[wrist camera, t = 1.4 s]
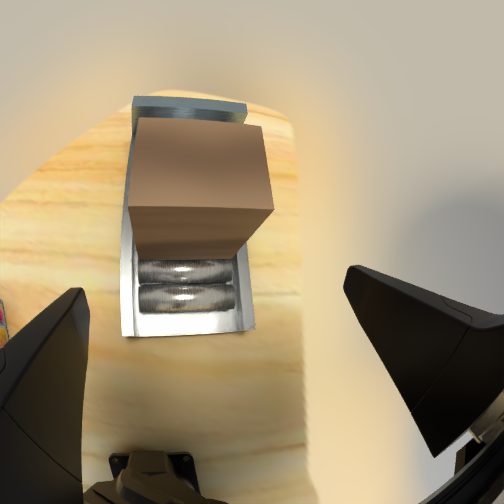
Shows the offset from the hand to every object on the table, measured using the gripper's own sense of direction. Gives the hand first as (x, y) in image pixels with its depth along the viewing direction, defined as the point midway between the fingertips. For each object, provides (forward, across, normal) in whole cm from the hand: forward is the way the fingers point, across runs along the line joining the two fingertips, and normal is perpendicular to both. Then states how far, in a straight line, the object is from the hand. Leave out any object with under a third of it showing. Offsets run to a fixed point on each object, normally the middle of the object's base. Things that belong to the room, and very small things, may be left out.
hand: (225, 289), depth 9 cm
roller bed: (+14, 0, +4) cm, 15 cm away
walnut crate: (+12, 0, +2) cm, 12 cm away
